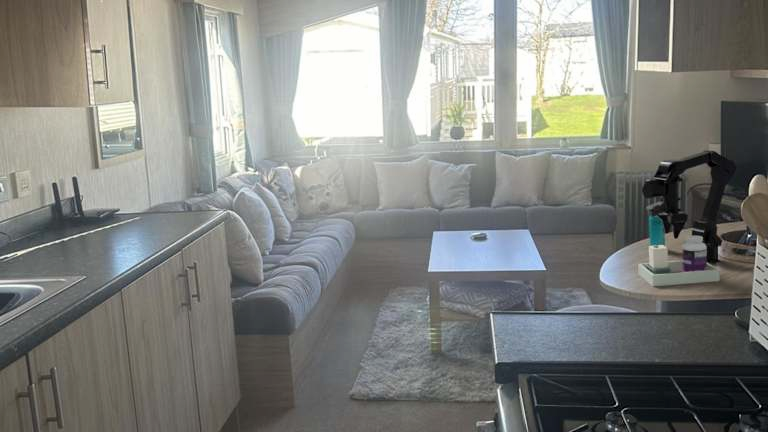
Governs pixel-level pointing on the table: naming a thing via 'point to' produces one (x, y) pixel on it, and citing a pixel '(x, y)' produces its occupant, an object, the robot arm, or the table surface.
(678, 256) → the table surface
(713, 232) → the robot arm
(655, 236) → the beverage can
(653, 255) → the carton
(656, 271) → the tin
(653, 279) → the tote
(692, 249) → the pill bottle
